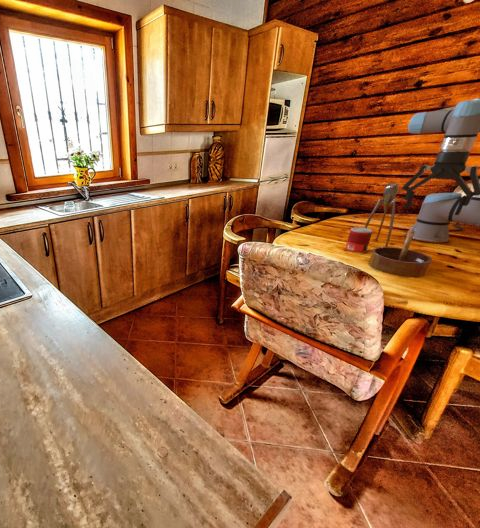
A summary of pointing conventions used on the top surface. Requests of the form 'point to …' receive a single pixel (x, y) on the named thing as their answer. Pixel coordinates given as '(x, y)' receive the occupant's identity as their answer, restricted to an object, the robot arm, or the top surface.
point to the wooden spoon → (406, 246)
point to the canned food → (358, 239)
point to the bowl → (399, 262)
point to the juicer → (388, 198)
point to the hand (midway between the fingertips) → (430, 211)
